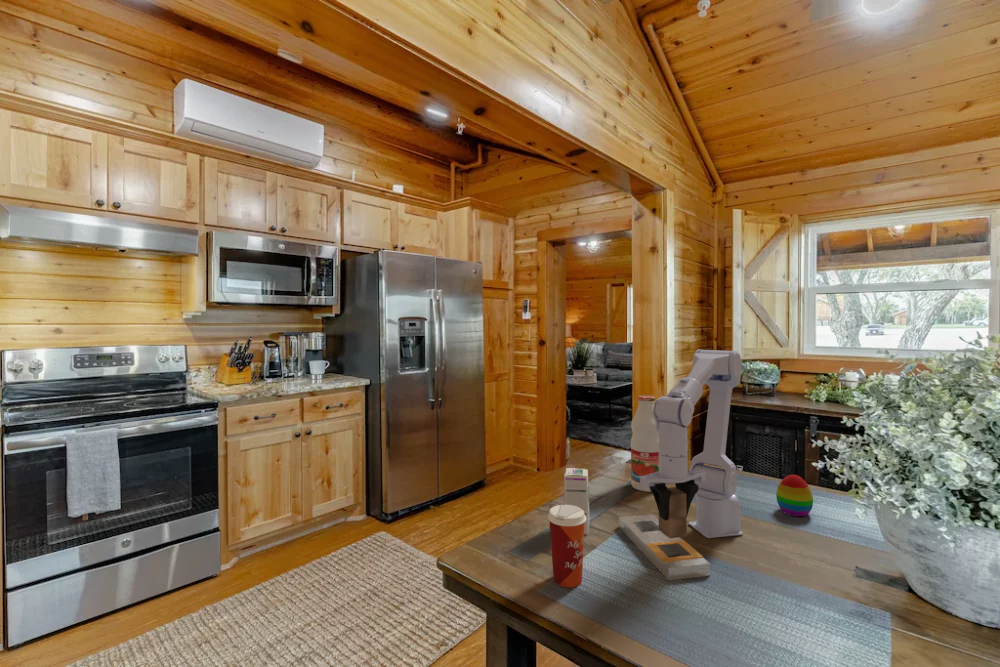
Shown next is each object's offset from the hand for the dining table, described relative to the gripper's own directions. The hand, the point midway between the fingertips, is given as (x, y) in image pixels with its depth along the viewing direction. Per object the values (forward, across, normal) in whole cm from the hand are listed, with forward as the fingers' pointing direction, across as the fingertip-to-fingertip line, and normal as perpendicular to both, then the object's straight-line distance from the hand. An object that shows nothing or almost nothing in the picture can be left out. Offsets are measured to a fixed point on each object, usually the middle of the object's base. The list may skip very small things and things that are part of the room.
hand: (673, 517), depth 98 cm
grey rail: (+10, -1, -6) cm, 12 cm away
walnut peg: (+4, 0, 0) cm, 4 cm away
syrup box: (+10, +13, -20) cm, 26 cm away
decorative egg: (+10, -45, -13) cm, 48 cm away
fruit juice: (+10, -19, -40) cm, 46 cm away
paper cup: (+10, +24, 0) cm, 26 cm away
